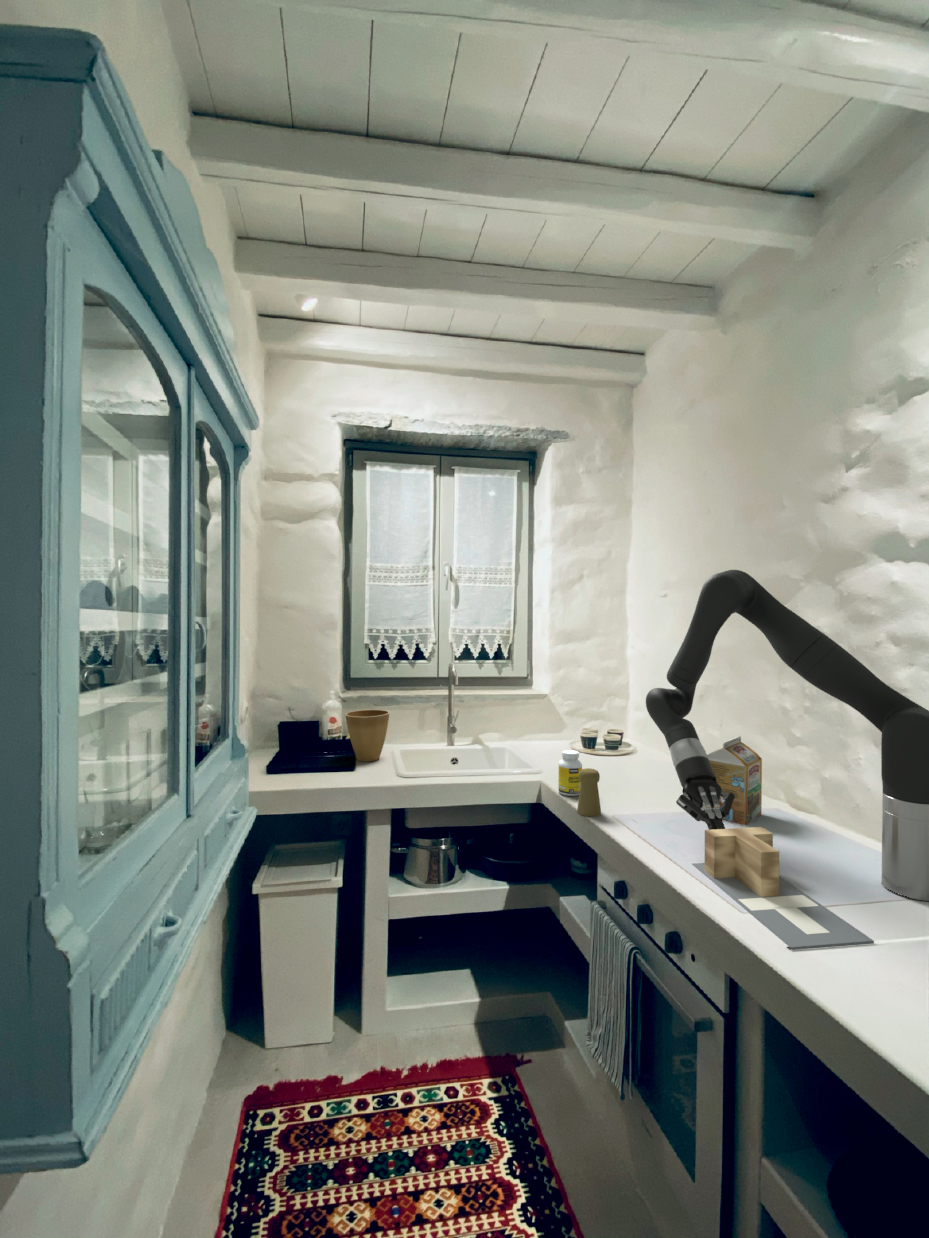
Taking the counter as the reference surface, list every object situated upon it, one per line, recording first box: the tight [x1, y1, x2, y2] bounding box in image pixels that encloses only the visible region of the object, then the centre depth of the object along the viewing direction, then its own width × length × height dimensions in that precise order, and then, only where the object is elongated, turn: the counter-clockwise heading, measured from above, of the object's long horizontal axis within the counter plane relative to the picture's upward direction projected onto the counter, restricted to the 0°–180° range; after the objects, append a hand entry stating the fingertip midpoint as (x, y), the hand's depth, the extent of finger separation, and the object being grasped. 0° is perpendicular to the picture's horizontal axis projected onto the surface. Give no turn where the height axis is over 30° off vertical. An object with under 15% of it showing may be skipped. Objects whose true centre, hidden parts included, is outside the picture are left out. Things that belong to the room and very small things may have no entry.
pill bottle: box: [558, 749, 583, 797], centre depth 168 cm, size 6×6×12 cm
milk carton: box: [707, 735, 763, 826], centre depth 151 cm, size 11×11×19 cm
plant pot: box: [345, 709, 390, 763], centre depth 206 cm, size 15×15×16 cm
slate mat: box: [691, 862, 875, 951], centre depth 107 cm, size 14×30×1 cm, turn 7°
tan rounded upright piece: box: [576, 767, 602, 818], centre depth 152 cm, size 6×6×11 cm
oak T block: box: [704, 826, 780, 897], centre depth 113 cm, size 12×12×8 cm
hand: (720, 838), depth 123 cm, fingers closed
